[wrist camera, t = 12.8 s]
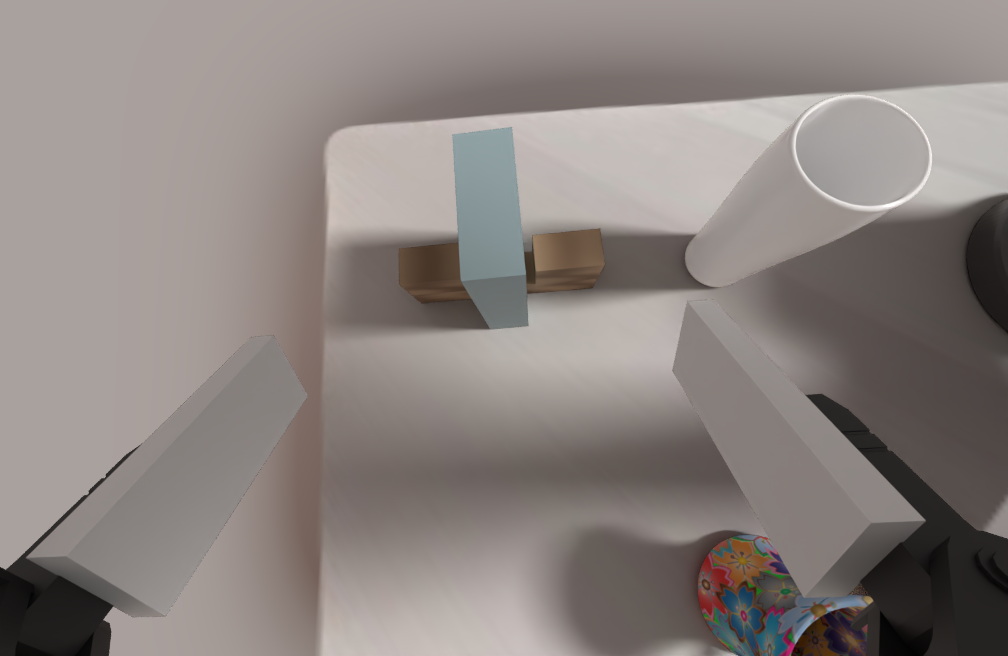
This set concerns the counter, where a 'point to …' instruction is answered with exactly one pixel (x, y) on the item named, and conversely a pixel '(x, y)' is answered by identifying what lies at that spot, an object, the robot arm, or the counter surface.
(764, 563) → the mug
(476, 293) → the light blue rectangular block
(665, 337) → the counter surface
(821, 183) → the drinking glass
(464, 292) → the wooden u-shaped block
